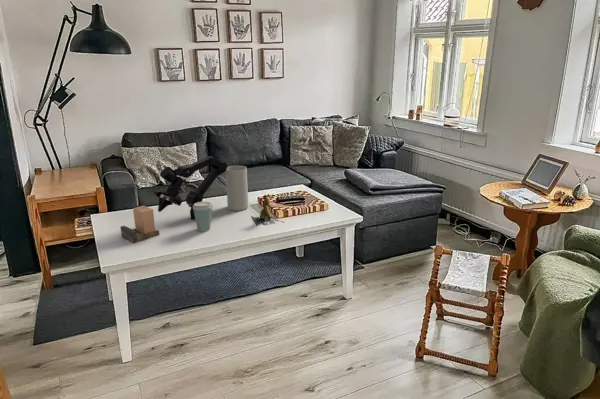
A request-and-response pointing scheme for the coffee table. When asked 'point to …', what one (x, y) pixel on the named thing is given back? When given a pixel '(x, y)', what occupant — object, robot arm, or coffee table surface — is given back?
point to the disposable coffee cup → (203, 215)
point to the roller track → (140, 238)
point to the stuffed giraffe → (265, 213)
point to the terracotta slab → (144, 219)
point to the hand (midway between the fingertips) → (158, 211)
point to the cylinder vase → (237, 188)
